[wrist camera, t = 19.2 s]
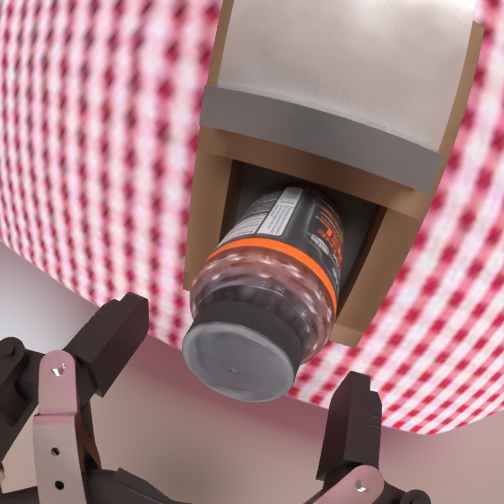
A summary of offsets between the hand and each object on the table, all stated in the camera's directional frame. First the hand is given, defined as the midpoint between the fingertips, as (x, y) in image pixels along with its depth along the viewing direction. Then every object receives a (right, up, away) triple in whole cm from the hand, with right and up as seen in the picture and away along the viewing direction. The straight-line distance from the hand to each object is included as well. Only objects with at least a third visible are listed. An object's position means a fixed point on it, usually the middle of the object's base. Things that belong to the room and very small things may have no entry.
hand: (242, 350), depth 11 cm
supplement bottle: (+3, +5, +8) cm, 10 cm away
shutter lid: (+4, +13, -1) cm, 13 cm away
